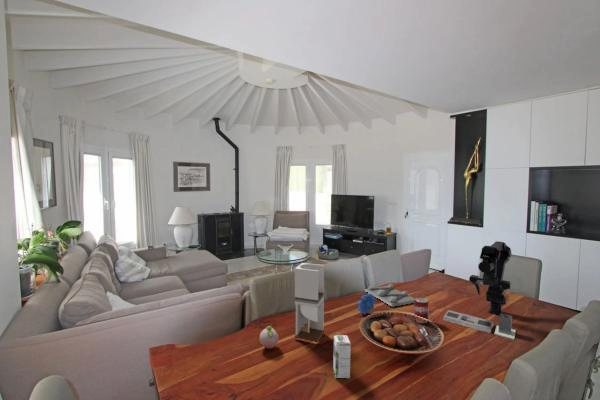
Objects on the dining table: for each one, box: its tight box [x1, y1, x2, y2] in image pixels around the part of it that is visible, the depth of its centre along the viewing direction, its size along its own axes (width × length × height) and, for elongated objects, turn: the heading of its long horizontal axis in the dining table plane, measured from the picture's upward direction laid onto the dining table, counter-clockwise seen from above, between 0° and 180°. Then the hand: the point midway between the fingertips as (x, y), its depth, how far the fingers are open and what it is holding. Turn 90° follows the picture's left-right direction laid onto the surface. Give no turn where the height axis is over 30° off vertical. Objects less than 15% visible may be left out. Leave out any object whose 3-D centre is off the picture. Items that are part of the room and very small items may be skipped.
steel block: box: [498, 313, 513, 335], centre depth 145 cm, size 5×5×8 cm
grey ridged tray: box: [363, 283, 416, 308], centre depth 192 cm, size 30×22×7 cm
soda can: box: [413, 297, 430, 320], centre depth 157 cm, size 7×7×12 cm
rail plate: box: [442, 309, 494, 334], centre depth 156 cm, size 11×22×2 cm, turn 50°
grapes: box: [357, 293, 377, 314], centre depth 168 cm, size 12×7×12 cm, turn 109°
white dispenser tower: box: [294, 262, 325, 342], centre depth 140 cm, size 11×11×35 cm
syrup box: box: [332, 334, 352, 379], centre depth 113 cm, size 6×6×14 cm
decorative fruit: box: [259, 325, 279, 350], centre depth 131 cm, size 9×8×10 cm
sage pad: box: [493, 324, 516, 341], centre depth 146 cm, size 11×8×1 cm
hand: (488, 296), depth 159 cm, fingers open, 9 cm apart
